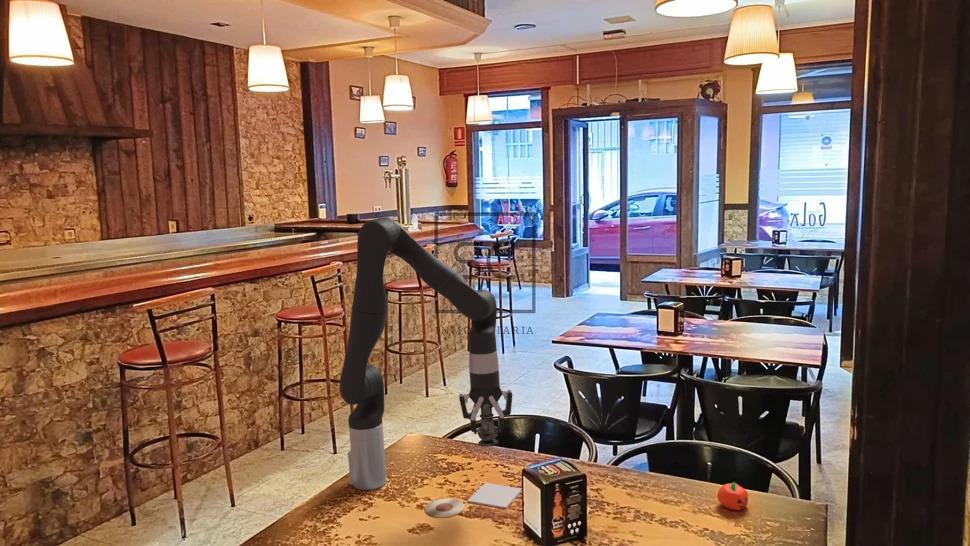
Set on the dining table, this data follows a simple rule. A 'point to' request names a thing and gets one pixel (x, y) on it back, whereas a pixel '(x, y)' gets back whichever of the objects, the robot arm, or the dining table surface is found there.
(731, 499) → the halloween pumpkin figurine
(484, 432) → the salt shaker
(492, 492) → the mat
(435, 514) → the coaster
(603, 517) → the dining table surface
